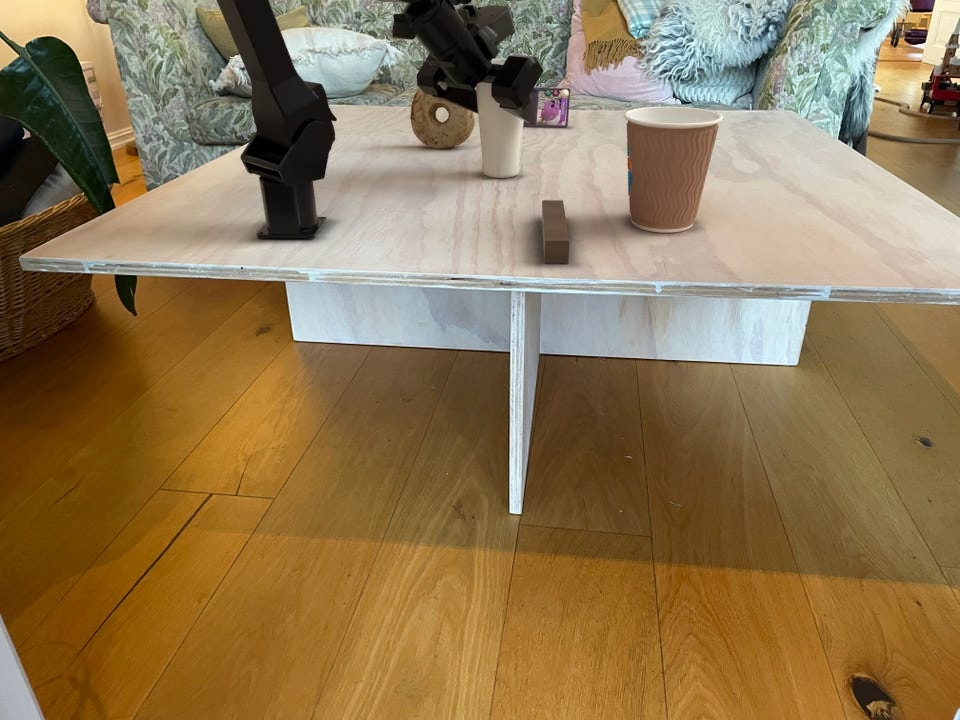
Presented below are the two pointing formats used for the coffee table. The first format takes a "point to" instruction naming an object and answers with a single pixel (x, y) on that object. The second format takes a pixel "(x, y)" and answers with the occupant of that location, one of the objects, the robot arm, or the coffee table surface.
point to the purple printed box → (551, 106)
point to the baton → (555, 232)
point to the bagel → (432, 128)
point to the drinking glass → (498, 134)
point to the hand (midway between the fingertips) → (507, 116)
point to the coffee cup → (668, 164)
